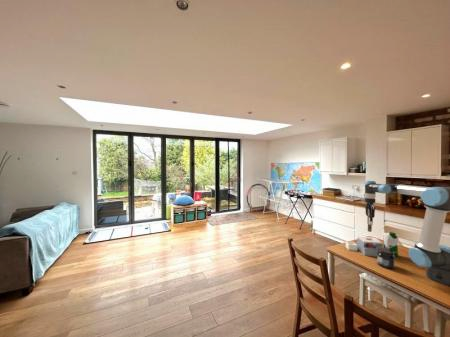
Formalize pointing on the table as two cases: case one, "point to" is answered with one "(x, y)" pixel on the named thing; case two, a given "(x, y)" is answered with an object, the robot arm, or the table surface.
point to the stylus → (368, 224)
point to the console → (369, 250)
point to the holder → (351, 246)
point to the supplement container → (386, 258)
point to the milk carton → (391, 242)
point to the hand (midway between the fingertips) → (369, 224)
